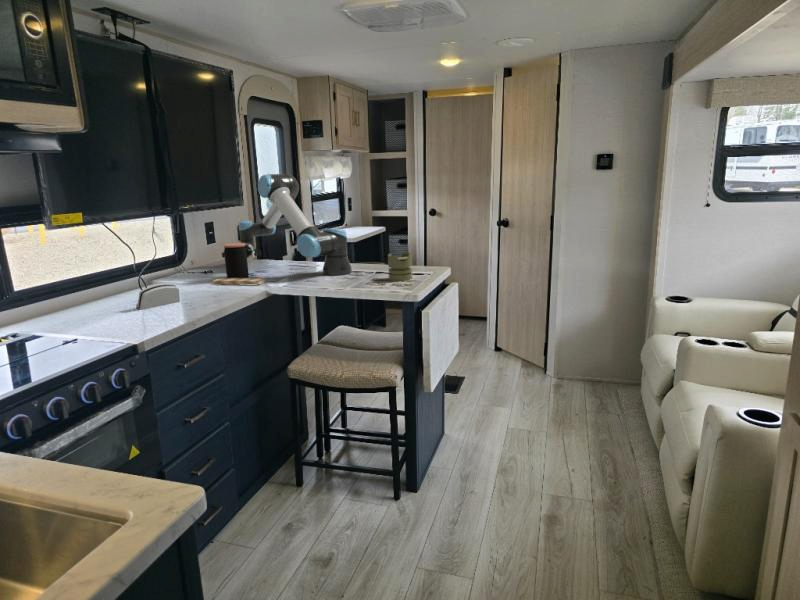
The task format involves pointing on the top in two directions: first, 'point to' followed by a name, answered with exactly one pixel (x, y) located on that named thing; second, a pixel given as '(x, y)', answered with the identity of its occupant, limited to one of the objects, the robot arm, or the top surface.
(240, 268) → the coffee jar
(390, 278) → the piston
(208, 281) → the top surface
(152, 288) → the beige arched block
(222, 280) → the oak board
